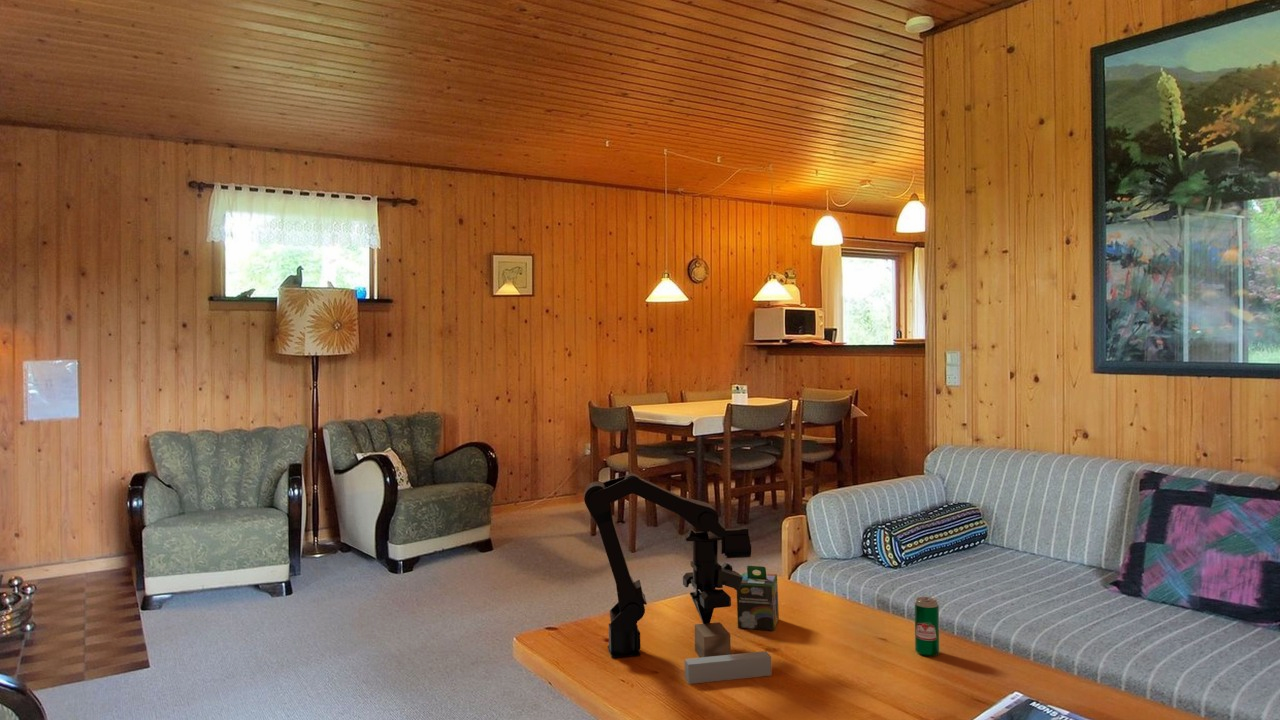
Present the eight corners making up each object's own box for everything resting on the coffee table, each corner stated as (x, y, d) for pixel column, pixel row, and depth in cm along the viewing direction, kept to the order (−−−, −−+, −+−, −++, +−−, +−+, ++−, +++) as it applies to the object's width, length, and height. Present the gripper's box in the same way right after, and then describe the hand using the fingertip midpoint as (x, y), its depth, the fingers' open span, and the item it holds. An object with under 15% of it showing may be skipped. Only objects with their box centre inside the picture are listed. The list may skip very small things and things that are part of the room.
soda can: (913, 655, 173) (912, 601, 173) (917, 647, 178) (916, 594, 178) (937, 659, 171) (937, 604, 171) (940, 651, 176) (940, 597, 175)
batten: (688, 684, 160) (688, 664, 160) (684, 678, 163) (684, 659, 163) (771, 675, 164) (771, 656, 164) (766, 669, 167) (766, 651, 167)
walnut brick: (704, 664, 170) (703, 637, 170) (694, 650, 178) (694, 624, 178) (730, 661, 172) (730, 634, 171) (720, 648, 179) (719, 622, 179)
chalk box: (779, 619, 198) (778, 561, 198) (774, 631, 189) (773, 571, 189) (743, 616, 201) (742, 558, 201) (736, 628, 192) (735, 568, 192)
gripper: (752, 567, 172) (753, 637, 172) (725, 546, 190) (726, 609, 190) (704, 571, 169) (705, 642, 170) (681, 549, 188) (682, 614, 188)
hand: (706, 626), depth 179 cm, fingers closed
